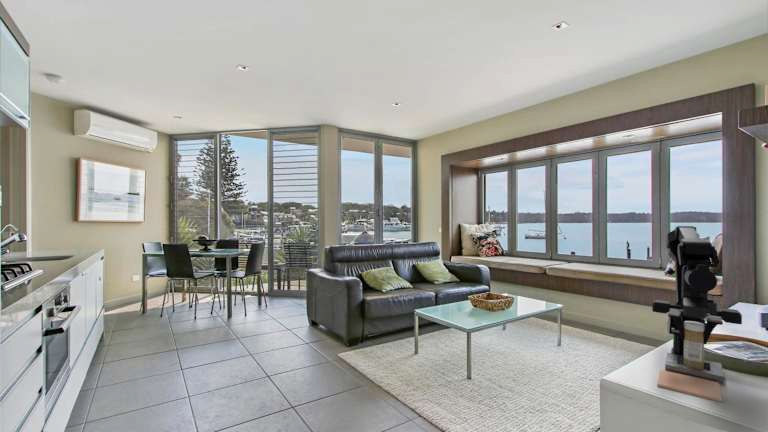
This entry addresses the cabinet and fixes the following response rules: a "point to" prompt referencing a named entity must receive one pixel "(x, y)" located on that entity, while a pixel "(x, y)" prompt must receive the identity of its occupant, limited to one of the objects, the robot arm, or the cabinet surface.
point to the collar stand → (713, 367)
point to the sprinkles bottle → (694, 344)
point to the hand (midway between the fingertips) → (693, 341)
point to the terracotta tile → (690, 385)
